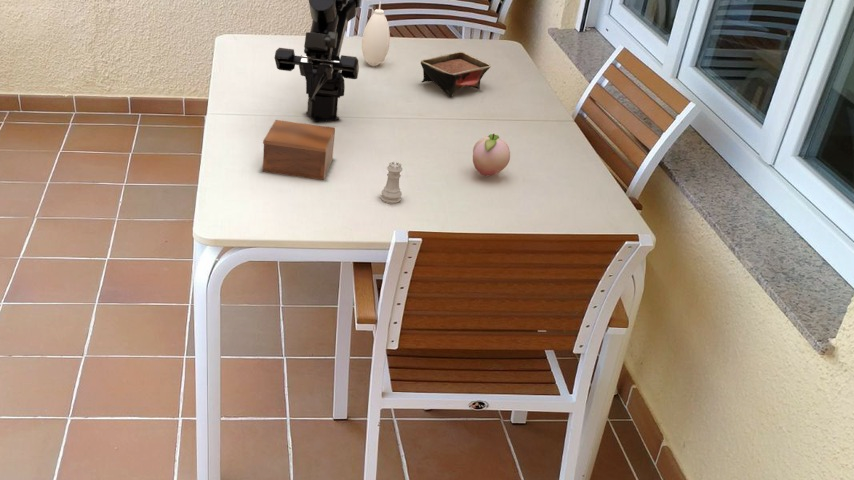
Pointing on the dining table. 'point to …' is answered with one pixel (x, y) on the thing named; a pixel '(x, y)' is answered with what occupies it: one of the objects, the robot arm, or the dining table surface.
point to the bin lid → (299, 135)
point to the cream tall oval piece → (376, 38)
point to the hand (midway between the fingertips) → (310, 98)
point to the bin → (297, 161)
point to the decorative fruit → (490, 155)
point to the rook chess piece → (392, 184)
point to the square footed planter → (454, 71)
